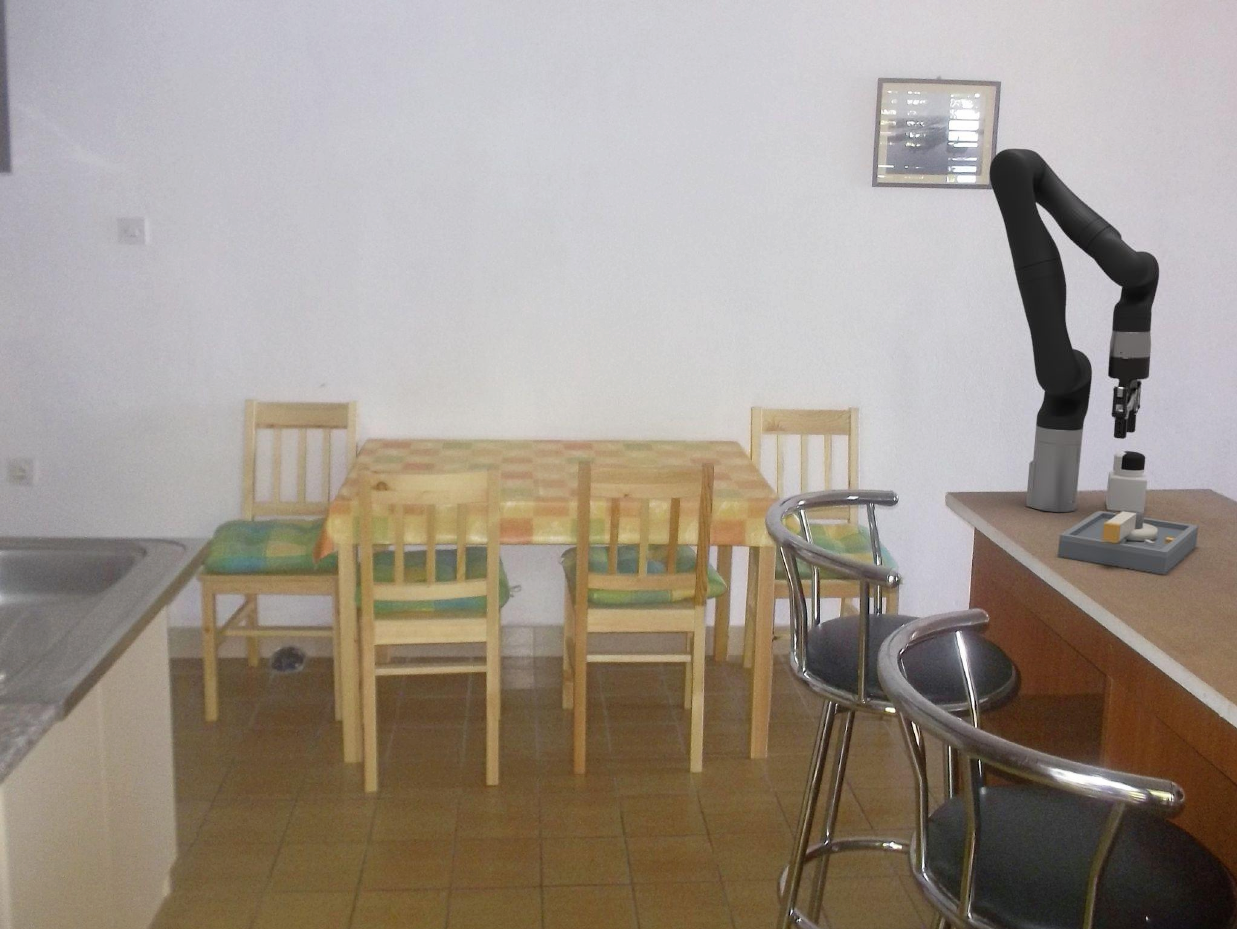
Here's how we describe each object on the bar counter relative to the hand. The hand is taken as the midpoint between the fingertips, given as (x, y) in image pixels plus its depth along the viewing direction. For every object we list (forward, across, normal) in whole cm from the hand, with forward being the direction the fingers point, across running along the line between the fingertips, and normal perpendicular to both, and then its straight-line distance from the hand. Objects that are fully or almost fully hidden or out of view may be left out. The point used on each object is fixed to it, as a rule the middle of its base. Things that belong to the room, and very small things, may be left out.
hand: (1124, 435), depth 245 cm
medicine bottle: (+18, -12, -1) cm, 21 cm away
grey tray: (+18, +25, +7) cm, 31 cm away
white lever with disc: (+14, +29, +7) cm, 33 cm away
